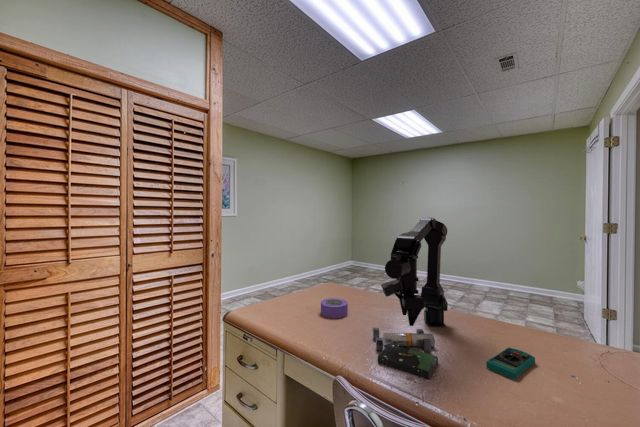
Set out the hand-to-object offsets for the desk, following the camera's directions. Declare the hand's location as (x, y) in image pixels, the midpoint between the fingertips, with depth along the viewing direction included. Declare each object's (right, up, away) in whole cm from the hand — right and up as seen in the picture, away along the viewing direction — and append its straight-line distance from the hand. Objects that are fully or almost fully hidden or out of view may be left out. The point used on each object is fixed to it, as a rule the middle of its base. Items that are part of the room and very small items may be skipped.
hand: (407, 320), depth 93 cm
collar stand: (-2, -8, 0) cm, 9 cm away
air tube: (0, -8, 0) cm, 8 cm away
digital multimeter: (+26, -9, -12) cm, 30 cm away
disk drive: (-3, -9, -11) cm, 15 cm away
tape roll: (-23, -9, +30) cm, 39 cm away
